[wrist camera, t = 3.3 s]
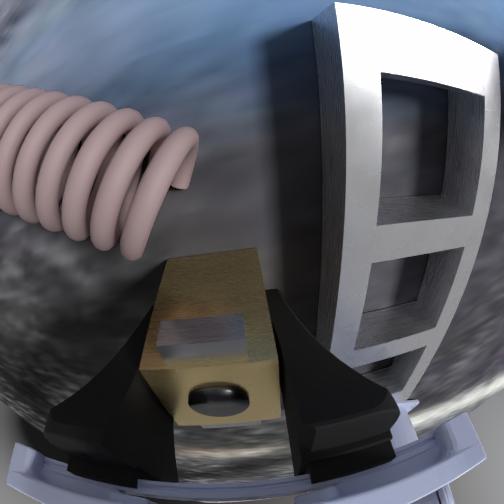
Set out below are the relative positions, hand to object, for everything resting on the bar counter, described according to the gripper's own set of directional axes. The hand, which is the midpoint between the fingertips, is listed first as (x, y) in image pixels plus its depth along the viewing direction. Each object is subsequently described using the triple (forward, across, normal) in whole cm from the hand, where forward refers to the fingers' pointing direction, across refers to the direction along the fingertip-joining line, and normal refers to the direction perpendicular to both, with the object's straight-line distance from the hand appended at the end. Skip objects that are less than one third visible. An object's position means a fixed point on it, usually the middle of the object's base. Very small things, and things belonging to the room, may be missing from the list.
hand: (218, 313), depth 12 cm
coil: (+2, +8, -10) cm, 13 cm away
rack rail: (+2, -9, 0) cm, 9 cm away
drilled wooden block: (+2, 0, 0) cm, 2 cm away
